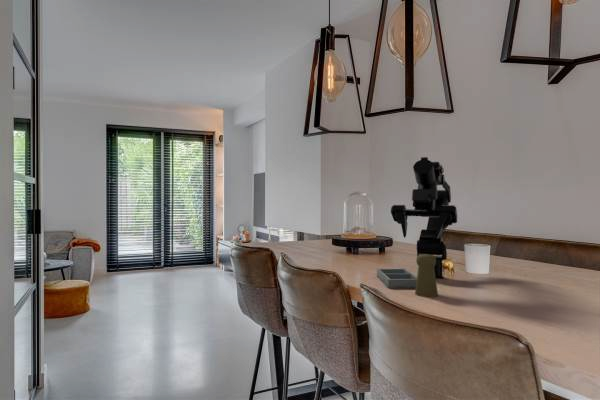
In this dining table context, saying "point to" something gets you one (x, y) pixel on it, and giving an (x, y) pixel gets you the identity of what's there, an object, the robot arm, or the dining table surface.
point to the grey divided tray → (397, 278)
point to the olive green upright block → (426, 276)
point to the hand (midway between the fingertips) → (420, 237)
